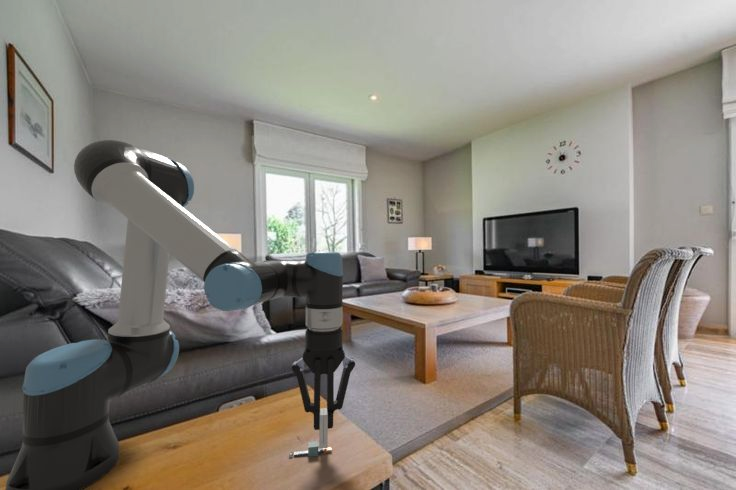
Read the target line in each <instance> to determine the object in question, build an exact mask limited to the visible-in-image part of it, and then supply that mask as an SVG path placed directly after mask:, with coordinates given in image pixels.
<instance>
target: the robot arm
mask: <svg viewBox="0 0 736 490" xmlns="http://www.w3.org/2000/svg"><path fill="white" fill-rule="evenodd" d="M73 169H74V175H75V177H76V180H77V182H78V183H79V185H80V186H81V187H82V189H83V190H84V191H85V192H86V193H87V194H88V195H89V196H90V197H91V198H93V199H94V200H95V201H97V202H98V203H99V204H101V205H102V206H104V207H108V208H114V209H115V210H116V211H118V212H119V213H120V214H122V216H123V217H125V218H126V219H127V223H126V233H125V243H124V244H125V246H124V254H123V255H124V256H123V265H122V266H123V267H122V275H121V285H120V286H121V287H120V294H119V295H120V296H119V306H118V318H117V321H116V323H115V324H114V325H112V326H111V327H109V328H108V332H107V338H106V339H107V340H106V339H101V338H100V339H99V338H98V339H86V340H85V339H84V340H81V341H78V342H71V343H67V344H64V345H61V346H58V347H55V348H52V349H49V350H47V351H45V352H43V353H40V354H39V355H37V356H36V357H34V358H33V359H32V360H30V362H29V363H28V365H27V366H26V369H25V373H24V378H23V383H22V387H21V388H22V389H21V390H22V392H23V405H22V406H23V412H22V413H23V415H22V443H21V447H20V450H19V452H18V455H17V457H16V459H15V461H14V464H13V466H12V468H11V471H10V473H9V475H8V478H7V480H6V483H5V490H83V489H84V488H86V487H88V486H90V485H92V484H94V483H95V482H97V481H98V480H100V479H101V478H103V477H104V476H106V475H107V474H108V473H109V472H110V471H111V470H112V469H113V468H114V467H115V466H116V465H117V463H118V461H119V459H120V442H119V441H118V438H117V436H116V434H115V432H114V429H113V427H112V424H111V422H110V402H111V401H112V400H114V399H116V398H120V397H122V396H124V395H125V394H128V393H130V392H132V391H134V390H136V389H138V388H140V387H143V386H145V385H147V384H151V383H152V382H155V381H157V380H158V379H159V378H161V377H164V375H166V374H168V373H169V372H170V371H171V370H172V369H173V367H174V366H175V364H176V363H177V360H178V357H179V353H180V344H179V340H177V339H176V335H175V334H174V332H173V331H172V330H171V329H170V327H171V325H170V324H169V323H168V322H167V321H166V320H165V319H164V314H165V304H166V303H165V302H166V297H167V296H166V294H167V293H166V292H167V284H168V282H167V281H168V273H169V263H170V255H171V256H172V257H173V258H175V259H176V260H177V261H178V262H180V264H181V265H183V266H184V267H185V268H186V269H188V270H189V271H190V272H192V274H194V275H195V276H196V277H197V278H199V280H201V281H202V282H203V283H204V285H203V290H204V291H203V292H204V295H206V298H207V301H208V303H209V304H210V305H211V306H212V307H214V309H217V310H219V311H223V312H231V311H239V310H244V309H248V308H250V307H253V306H255V305H258V304H261V303H265V302H268V301H272V300H276V299H279V298H305V326H306V327H307V328H306V329H305V337H304V339H305V344H304V346H305V348H304V349H305V350H304V351H303V354H302V357H301V358H300V359H299V358H298V360H293V362H292V365H291V370H292V372H293V373H294V375H295V376H296V378H297V382H298V383H297V384H298V387H299V392H300V395H301V400H302V405H303V408H304V409H303V410H304V411H305V413H312V415H313V429H314V431H319V433H318V434H319V435H318V445H319V449H322V448H328V440H329V439H328V435H329V434H328V431H329V429H333V428H334V413H335V411H337V410H341V409H343V406H344V401H345V398H346V394H347V388H348V386H349V381H350V376H351V373H352V372H353V370H354V368H355V366H356V363H355V359H354V357H349V356H347V355H346V352H345V350H344V348H343V327H341V326H342V325H343V320H344V319H343V297H344V296H343V289H344V274H345V273H344V272H343V271H344V269H343V267H344V266H343V256H342V254H341V253H340V252H337V251H309V252H307V254H306V255H305V256H306V257H305V260H300V261H292V260H273V259H270V260H269V259H268V260H258V261H251V260H250V259H249V258H247V257H246V256H245V255H244V254H242V253H241V252H240V251H238V250H237V249H236V248H235V247H234V246H233V245H231V244H230V243H229V242H227V241H226V240H225V239H224V238H222V237H221V236H220V235H219V234H218V233H216V232H215V231H214V230H212V229H211V228H210V227H209V226H207V225H206V224H205V223H203V222H202V221H201V220H200V219H198V218H197V217H196V216H194V214H192V213H191V212H190V211H188V210H187V209H186V208H185V207H186V206H187V205H189V202H190V201H192V200H193V196H194V194H195V182H194V179H193V176H192V174H191V172H190V171H189V170H188V169H187V167H186V166H184V165H183V164H182V163H180V162H178V161H176V160H174V159H172V158H170V157H168V156H165V155H164V156H163V155H161V154H158V153H155V152H153V151H150V150H146V149H144V148H140V147H138V146H135V145H133V144H131V143H128V142H125V141H122V140H114V139H103V140H97V141H94V142H92V143H91V142H90V143H89V144H88V145H86V146H84V147H83V148H81V150H80V151H79V152H78V153H77V155H76V157H75V159H74V164H73ZM341 364H342V367H343V368H342V372H341V377H340V380H339V384H338V389H337V393H336V398H335V400H334V396H335V395H334V385H335V384H334V381H335V380H334V375H335V372H336V371H337V370H338V368H339V367H340V365H341ZM305 365H306V366H307V367H308V369H309V370H310V371H311V373H312V374H313V375H314V376H313V380H314V381H313V402H312V401H311V398H310V393H309V389H308V385H307V381H306V376H305V372H304V370H305ZM322 375H326V407H324V408H323V407H321V377H322Z"/></svg>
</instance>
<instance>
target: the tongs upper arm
mask: <svg viewBox="0 0 736 490" xmlns="http://www.w3.org/2000/svg"><path fill="white" fill-rule="evenodd" d="M332 452H333V451H332V447H331V446H329V447H328V448H324V447H323V448H321V449H320V448H319V453H318V455H323V454H332ZM305 456H308V450H301V451H300V450H299V451H294V452H293V451H290V452H289V455H288V458H289V459H291V458H296V457H305Z"/></svg>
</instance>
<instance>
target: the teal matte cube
mask: <svg viewBox="0 0 736 490" xmlns="http://www.w3.org/2000/svg"><path fill="white" fill-rule="evenodd" d="M307 443H308V445H307V446H308V447H307V448H308V455H307V457H308V458H310V457H316V456H317V457H319V454H318V453H319V449H320V448H319V440H318V441H317V440H316V441H315V440H314V441H308V442H307Z"/></svg>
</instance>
